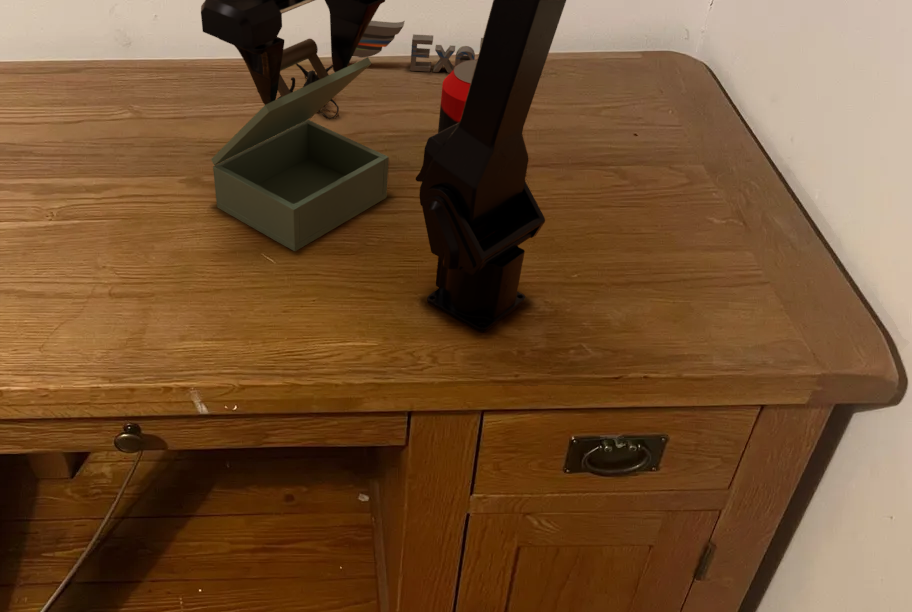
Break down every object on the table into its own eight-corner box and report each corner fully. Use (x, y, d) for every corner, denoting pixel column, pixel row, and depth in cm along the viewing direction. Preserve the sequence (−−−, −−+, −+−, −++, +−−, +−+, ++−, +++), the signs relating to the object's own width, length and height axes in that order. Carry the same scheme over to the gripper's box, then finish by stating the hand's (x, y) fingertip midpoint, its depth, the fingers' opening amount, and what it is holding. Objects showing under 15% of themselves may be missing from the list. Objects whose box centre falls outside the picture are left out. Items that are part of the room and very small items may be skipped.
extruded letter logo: (331, 66, 117) (331, 21, 113) (332, 61, 118) (333, 16, 114) (529, 77, 114) (536, 32, 110) (529, 72, 115) (536, 27, 111)
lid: (371, 63, 87) (345, 16, 86) (269, 111, 80) (239, 61, 79) (309, 118, 97) (285, 77, 96) (214, 165, 90) (187, 121, 89)
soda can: (435, 201, 94) (446, 89, 86) (431, 163, 99) (440, 55, 91) (509, 201, 94) (527, 90, 85) (501, 164, 99) (517, 55, 91)
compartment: (386, 197, 95) (389, 156, 91) (294, 251, 88) (293, 209, 85) (308, 159, 100) (308, 119, 97) (216, 207, 94) (212, 166, 90)
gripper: (310, -138, 83) (313, 35, 94) (147, -90, 74) (171, 95, 84) (404, -114, 77) (395, 66, 88) (240, -60, 68) (253, 135, 79)
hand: (304, 88), depth 85 cm, fingers open, 9 cm apart
